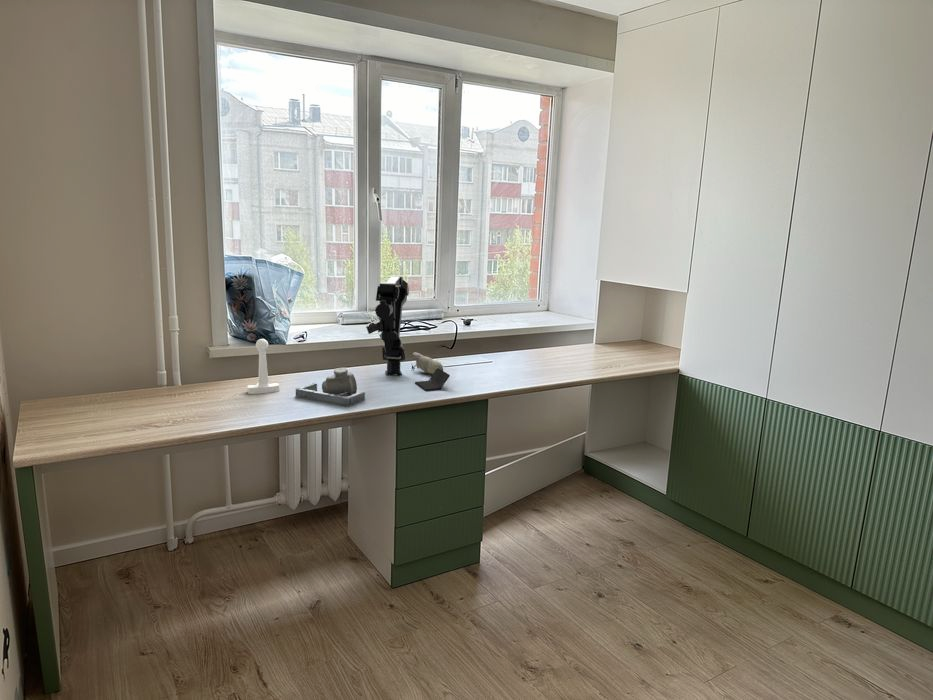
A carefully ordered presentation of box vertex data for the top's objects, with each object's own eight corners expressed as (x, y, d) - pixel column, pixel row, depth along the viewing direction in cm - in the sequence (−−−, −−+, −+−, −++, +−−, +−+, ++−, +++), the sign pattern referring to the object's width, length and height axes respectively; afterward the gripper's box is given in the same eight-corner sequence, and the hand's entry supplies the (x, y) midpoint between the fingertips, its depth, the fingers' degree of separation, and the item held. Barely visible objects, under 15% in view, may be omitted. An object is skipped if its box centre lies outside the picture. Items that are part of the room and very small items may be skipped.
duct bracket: (313, 390, 237) (313, 382, 236) (364, 399, 227) (364, 391, 226) (295, 396, 228) (295, 388, 227) (348, 407, 218) (348, 398, 217)
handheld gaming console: (409, 380, 249) (426, 358, 250) (422, 389, 254) (438, 368, 255) (425, 392, 240) (443, 369, 241) (438, 402, 245) (455, 379, 246)
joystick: (248, 394, 228) (246, 340, 224) (246, 389, 235) (244, 336, 231) (280, 391, 233) (278, 339, 229) (276, 386, 240) (275, 335, 236)
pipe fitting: (352, 388, 239) (349, 363, 235) (358, 396, 232) (356, 370, 228) (321, 395, 234) (318, 369, 230) (327, 403, 227) (324, 376, 223)
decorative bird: (436, 378, 260) (437, 360, 258) (409, 371, 271) (409, 353, 270) (446, 376, 264) (447, 358, 263) (418, 369, 276) (419, 351, 274)
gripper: (365, 310, 252) (365, 348, 256) (368, 318, 235) (368, 359, 238) (393, 310, 255) (392, 348, 258) (398, 318, 237) (397, 358, 240)
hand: (387, 353), depth 248 cm, fingers closed
